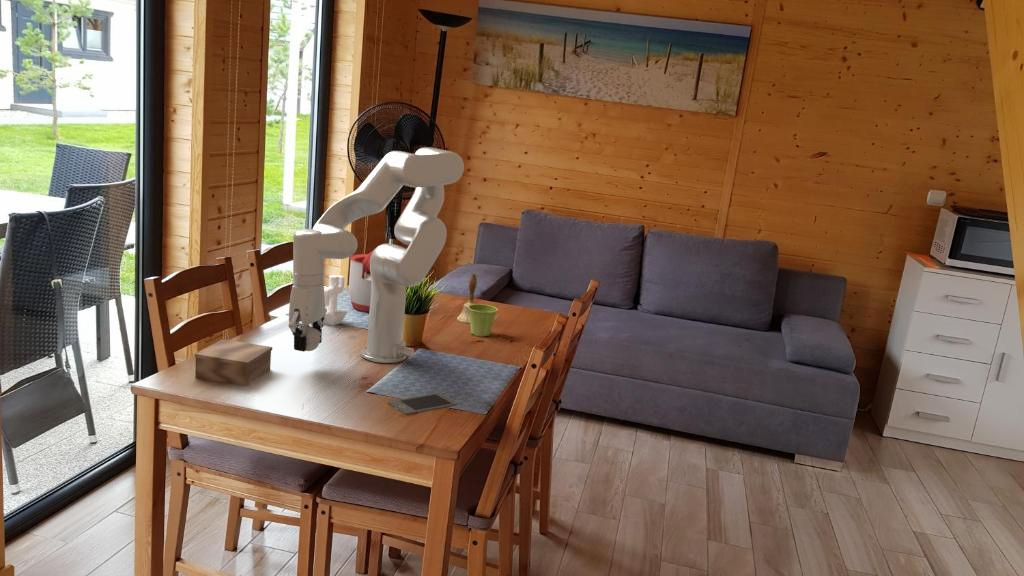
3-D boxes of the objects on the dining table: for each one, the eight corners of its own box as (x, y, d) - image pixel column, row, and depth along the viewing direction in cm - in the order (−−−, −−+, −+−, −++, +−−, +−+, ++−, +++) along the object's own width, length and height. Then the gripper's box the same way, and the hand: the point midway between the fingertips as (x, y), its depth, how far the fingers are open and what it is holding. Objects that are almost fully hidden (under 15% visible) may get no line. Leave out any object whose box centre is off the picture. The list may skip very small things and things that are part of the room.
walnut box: (271, 369, 207) (272, 347, 206) (246, 386, 194) (247, 362, 193) (221, 361, 209) (222, 339, 207) (193, 377, 196) (194, 353, 194)
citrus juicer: (343, 313, 265) (347, 253, 260) (348, 300, 282) (353, 243, 277) (391, 317, 267) (396, 257, 262) (394, 304, 283) (399, 247, 279)
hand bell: (454, 316, 277) (458, 270, 273) (477, 317, 279) (482, 271, 276) (459, 323, 269) (464, 276, 265) (484, 324, 272) (489, 277, 268)
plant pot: (494, 340, 255) (497, 313, 253) (464, 336, 255) (467, 309, 253) (495, 331, 264) (498, 306, 262) (466, 328, 264) (469, 302, 262)
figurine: (312, 323, 250) (315, 276, 246) (329, 317, 258) (332, 271, 255) (332, 328, 247) (336, 280, 244) (349, 321, 256) (352, 275, 253)
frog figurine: (291, 348, 211) (291, 322, 209) (318, 345, 214) (318, 320, 212) (296, 355, 206) (297, 329, 204) (324, 353, 209) (324, 327, 207)
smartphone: (437, 395, 204) (438, 392, 204) (457, 406, 198) (457, 403, 198) (386, 404, 194) (386, 401, 194) (405, 416, 188) (405, 413, 188)
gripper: (314, 269, 214) (313, 334, 219) (275, 284, 198) (275, 353, 203) (339, 274, 212) (338, 339, 217) (302, 288, 196) (301, 359, 201)
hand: (307, 345), depth 210 cm, fingers closed on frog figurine, 6 cm apart
